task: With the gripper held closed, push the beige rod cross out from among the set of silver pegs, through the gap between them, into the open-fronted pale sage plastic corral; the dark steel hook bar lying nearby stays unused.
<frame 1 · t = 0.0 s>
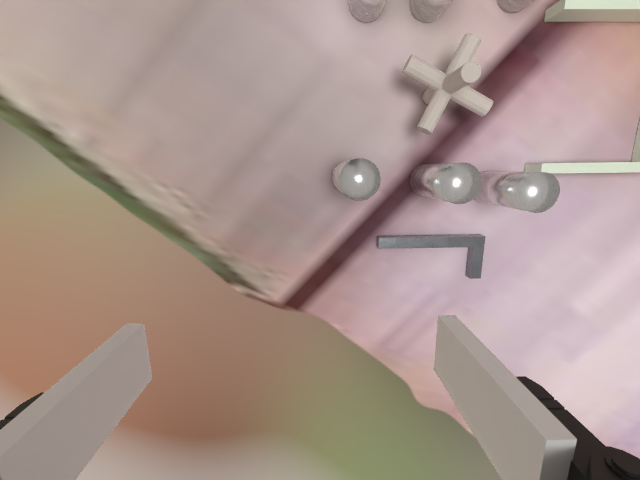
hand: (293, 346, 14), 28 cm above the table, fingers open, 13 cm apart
set of silver pegs: (438, 96, 38), on the table
corral: (589, 95, 39), on the table
hook bar: (428, 240, 42), on the table
beige rod cross: (429, 97, 38), on the table
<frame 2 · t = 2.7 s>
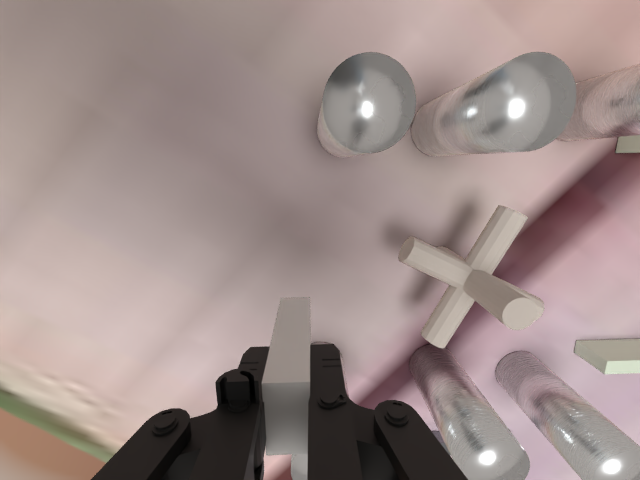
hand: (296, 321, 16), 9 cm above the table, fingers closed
set of silver pegs: (452, 256, 26), on the table
beige rod cross: (439, 256, 26), on the table
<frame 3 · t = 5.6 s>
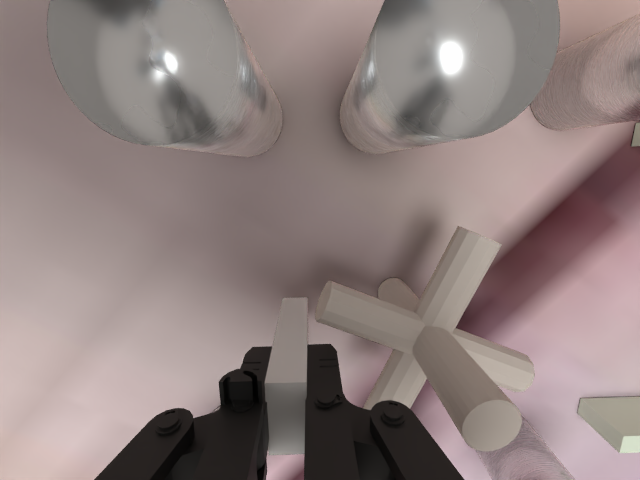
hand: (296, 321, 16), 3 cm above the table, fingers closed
set of silver pegs: (407, 290, 19), on the table
beige rod cross: (391, 290, 19), on the table, touching gripper
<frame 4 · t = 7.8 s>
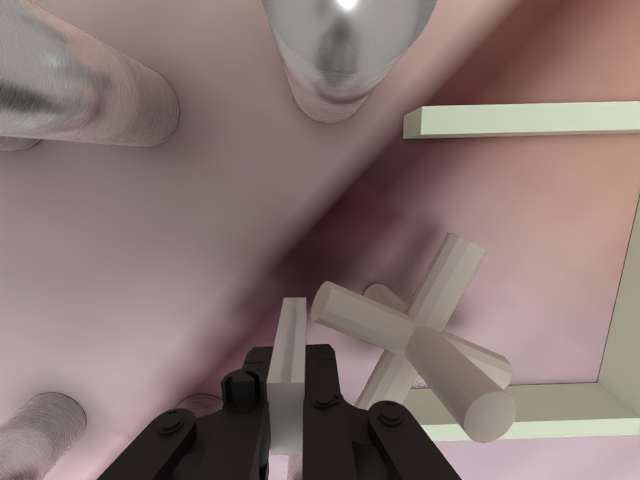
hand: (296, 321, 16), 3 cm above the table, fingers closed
set of silver pegs: (201, 282, 19), on the table
corral: (510, 273, 19), on the table
beige rod cross: (375, 296, 20), on the table, touching gripper
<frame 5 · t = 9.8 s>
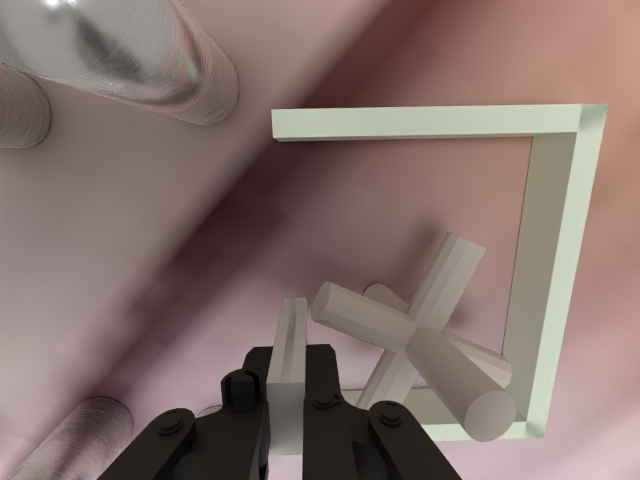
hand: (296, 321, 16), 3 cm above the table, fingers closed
set of silver pegs: (88, 285, 19), on the table
corral: (400, 277, 19), on the table
beige rod cross: (375, 296, 20), on the table, touching gripper
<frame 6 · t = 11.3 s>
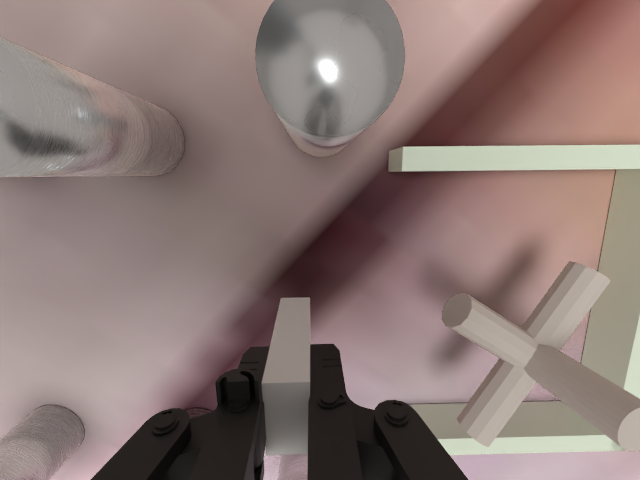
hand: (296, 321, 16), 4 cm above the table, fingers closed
set of silver pegs: (199, 301, 20), on the table
corral: (489, 296, 21), on the table
beige rod cross: (468, 312, 21), on the table
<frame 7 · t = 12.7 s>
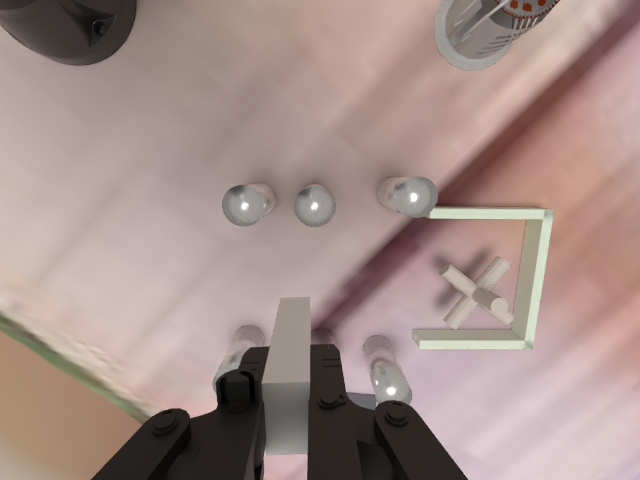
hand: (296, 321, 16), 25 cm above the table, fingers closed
set of silver pegs: (329, 274, 42), on the table
corral: (467, 274, 43), on the table
hook bar: (327, 394, 46), on the table
beige rod cross: (457, 283, 43), on the table
french press: (467, 31, 37), on the table
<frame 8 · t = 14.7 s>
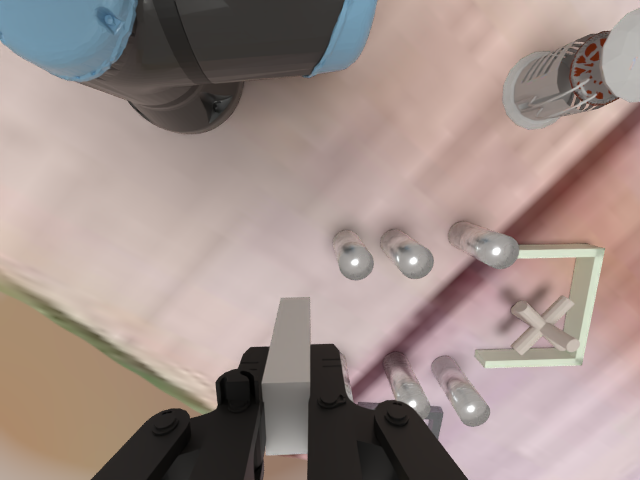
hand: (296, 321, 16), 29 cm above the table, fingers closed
set of silver pegs: (404, 305, 48), on the table
corral: (524, 302, 49), on the table
hook bar: (398, 407, 52), on the table
beige rod cross: (515, 309, 49), on the table
french press: (531, 95, 42), on the table
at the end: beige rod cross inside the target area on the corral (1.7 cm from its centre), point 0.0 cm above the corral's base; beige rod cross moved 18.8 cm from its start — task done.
